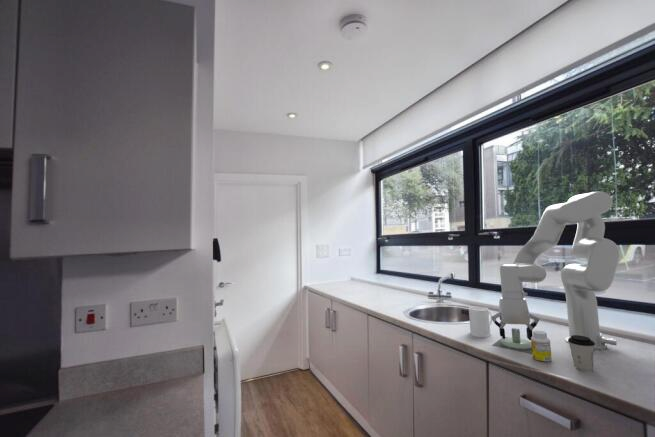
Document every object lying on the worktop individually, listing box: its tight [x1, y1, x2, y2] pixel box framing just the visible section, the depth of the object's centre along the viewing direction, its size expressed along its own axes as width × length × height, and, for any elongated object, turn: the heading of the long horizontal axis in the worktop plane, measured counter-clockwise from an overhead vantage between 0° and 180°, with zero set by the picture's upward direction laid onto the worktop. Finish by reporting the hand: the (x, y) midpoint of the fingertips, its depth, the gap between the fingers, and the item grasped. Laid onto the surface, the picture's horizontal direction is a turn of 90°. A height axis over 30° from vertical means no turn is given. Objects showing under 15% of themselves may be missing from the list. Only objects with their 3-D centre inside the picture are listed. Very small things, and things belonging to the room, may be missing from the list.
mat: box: [491, 336, 532, 355], centre depth 123 cm, size 14×14×1 cm
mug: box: [468, 306, 493, 338], centre depth 138 cm, size 12×8×12 cm
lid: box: [500, 327, 532, 350], centre depth 123 cm, size 11×11×6 cm
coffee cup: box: [568, 335, 595, 373], centre depth 101 cm, size 7×7×10 cm
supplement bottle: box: [530, 330, 553, 364], centre depth 108 cm, size 6×6×10 cm
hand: (516, 338), depth 123 cm, fingers open, 8 cm apart
